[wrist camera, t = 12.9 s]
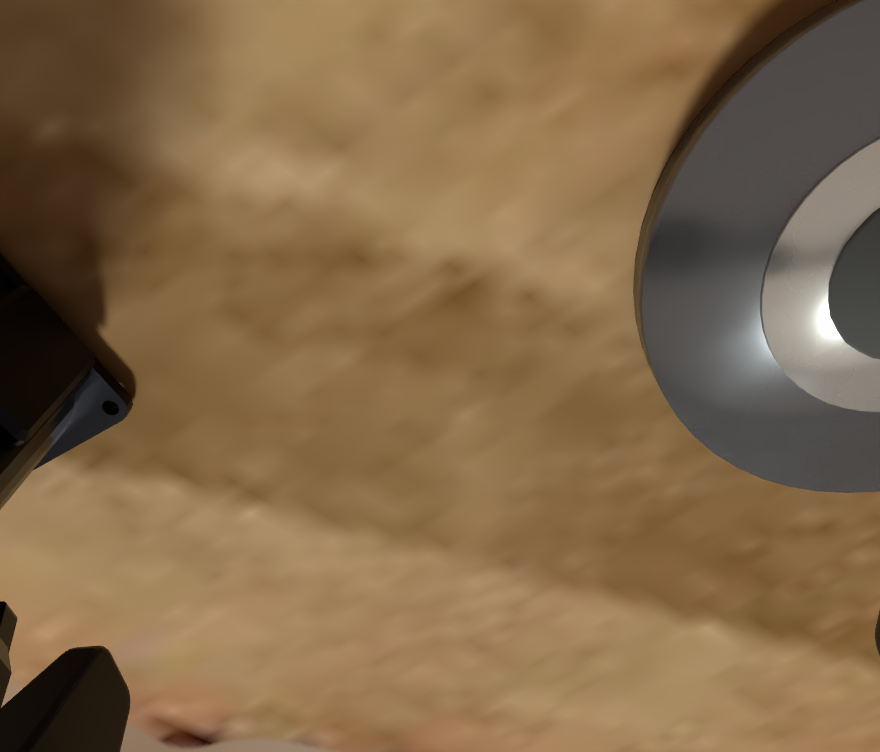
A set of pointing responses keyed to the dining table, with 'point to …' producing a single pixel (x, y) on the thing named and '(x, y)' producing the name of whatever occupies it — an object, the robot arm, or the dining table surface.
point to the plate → (771, 259)
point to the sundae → (858, 289)
